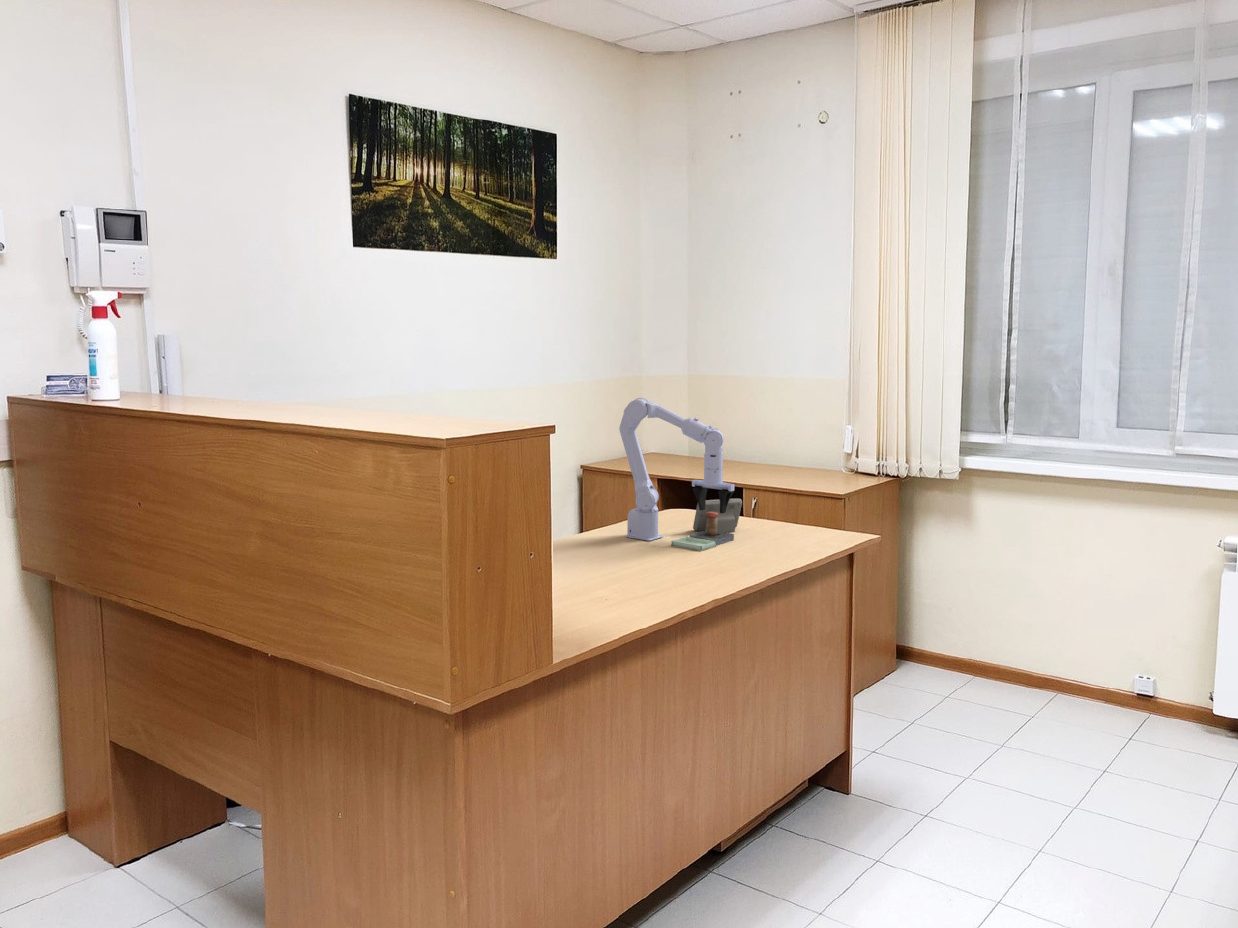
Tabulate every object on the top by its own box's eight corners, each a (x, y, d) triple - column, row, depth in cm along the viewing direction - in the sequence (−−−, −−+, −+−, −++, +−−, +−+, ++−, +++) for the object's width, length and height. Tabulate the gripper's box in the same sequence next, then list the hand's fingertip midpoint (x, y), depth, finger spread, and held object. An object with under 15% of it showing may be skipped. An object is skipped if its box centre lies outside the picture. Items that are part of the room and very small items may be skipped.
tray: (671, 545, 303) (671, 540, 303) (686, 541, 309) (686, 536, 309) (701, 551, 296) (701, 546, 296) (715, 546, 302) (716, 541, 302)
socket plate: (689, 541, 310) (689, 534, 309) (707, 535, 317) (707, 529, 317) (716, 545, 303) (716, 539, 303) (733, 540, 311) (733, 534, 311)
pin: (703, 540, 310) (703, 513, 309) (709, 538, 313) (710, 511, 312) (713, 542, 308) (714, 514, 307) (720, 540, 311) (720, 512, 309)
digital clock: (737, 527, 331) (738, 496, 329) (745, 533, 322) (746, 501, 321) (690, 528, 328) (690, 497, 327) (696, 534, 320) (697, 502, 318)
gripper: (686, 467, 308) (686, 510, 310) (726, 472, 300) (725, 516, 301) (699, 465, 314) (698, 507, 316) (738, 469, 305) (737, 512, 307)
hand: (712, 511), depth 309 cm, fingers open, 7 cm apart
